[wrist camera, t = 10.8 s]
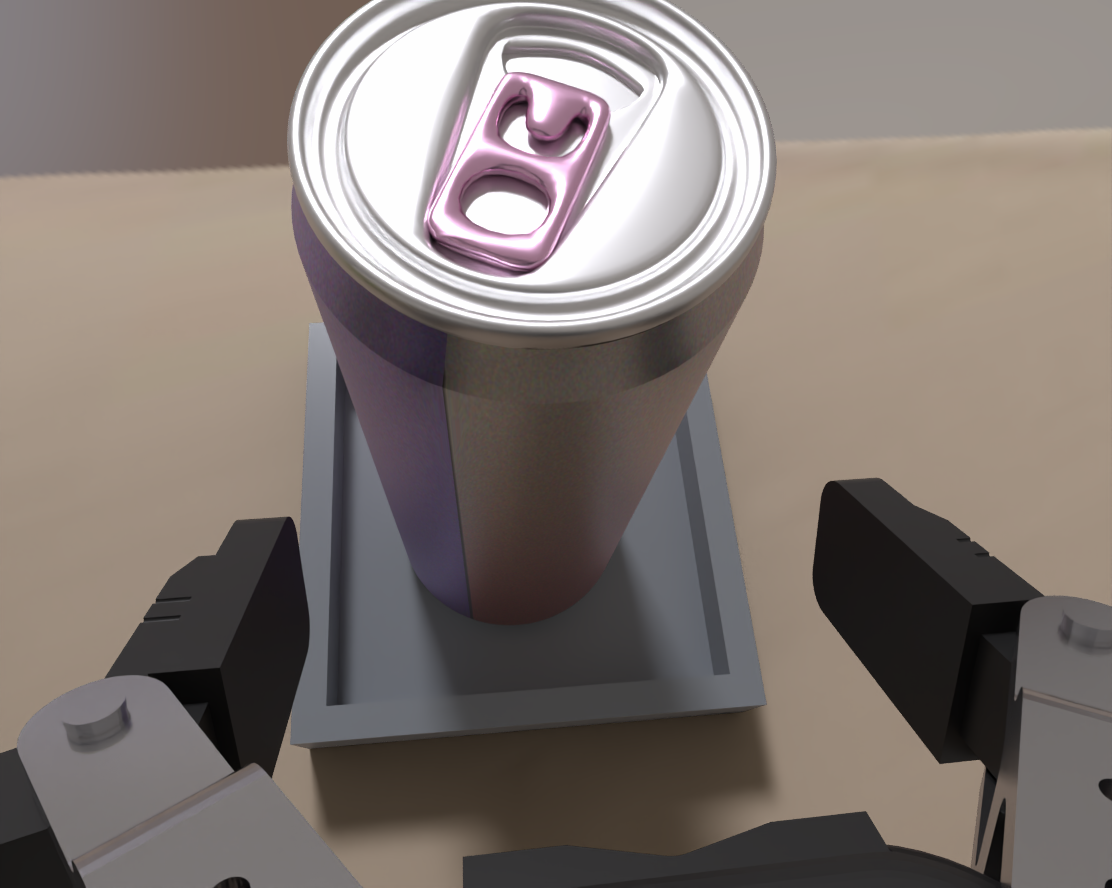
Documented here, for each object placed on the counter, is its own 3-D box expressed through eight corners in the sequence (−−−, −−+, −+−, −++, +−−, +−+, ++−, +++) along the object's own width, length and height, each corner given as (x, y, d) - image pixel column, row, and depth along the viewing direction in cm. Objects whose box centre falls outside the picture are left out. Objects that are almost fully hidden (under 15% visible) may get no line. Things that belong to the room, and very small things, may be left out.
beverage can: (369, 586, 22) (161, 238, 8) (452, 405, 24) (400, -103, 10) (574, 661, 21) (725, 432, 8) (637, 469, 24) (839, 30, 10)
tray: (309, 748, 20) (290, 744, 19) (323, 358, 25) (309, 322, 23) (742, 711, 22) (766, 704, 20) (680, 345, 26) (695, 311, 24)
